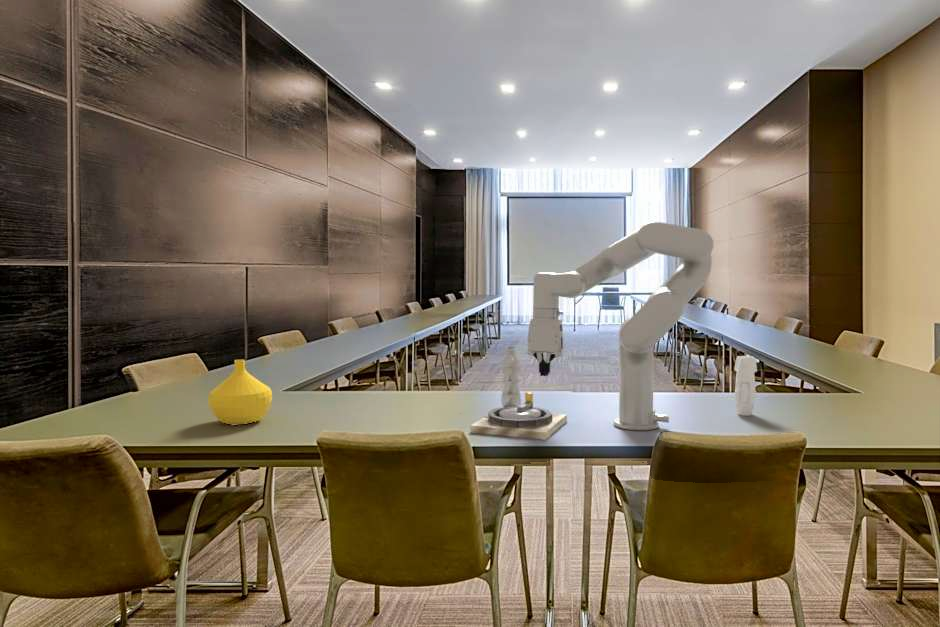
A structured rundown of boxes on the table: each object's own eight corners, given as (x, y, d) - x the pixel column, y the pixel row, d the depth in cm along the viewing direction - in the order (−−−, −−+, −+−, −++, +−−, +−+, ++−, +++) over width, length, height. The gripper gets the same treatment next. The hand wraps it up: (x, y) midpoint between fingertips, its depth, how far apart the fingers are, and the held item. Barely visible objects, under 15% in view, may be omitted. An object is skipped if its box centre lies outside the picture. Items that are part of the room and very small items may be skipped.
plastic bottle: (520, 410, 204) (519, 349, 203) (499, 409, 206) (498, 348, 204) (522, 405, 211) (521, 346, 209) (502, 405, 212) (501, 346, 211)
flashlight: (733, 411, 199) (732, 415, 193) (734, 354, 198) (733, 357, 192) (756, 412, 197) (756, 417, 190) (757, 355, 195) (757, 358, 189)
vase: (202, 430, 183) (199, 365, 182) (217, 416, 201) (215, 357, 200) (268, 427, 186) (265, 363, 184) (277, 413, 204) (275, 355, 202)
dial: (533, 425, 175) (533, 404, 174) (493, 421, 180) (493, 401, 179) (549, 413, 189) (549, 393, 189) (511, 410, 194) (511, 391, 193)
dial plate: (566, 421, 188) (566, 408, 188) (545, 439, 168) (545, 425, 168) (497, 415, 197) (497, 402, 197) (469, 432, 177) (469, 418, 177)
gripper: (573, 314, 187) (572, 375, 188) (525, 312, 193) (524, 371, 194) (567, 316, 180) (565, 379, 181) (517, 313, 186) (516, 375, 187)
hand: (544, 375), depth 188 cm, fingers closed
